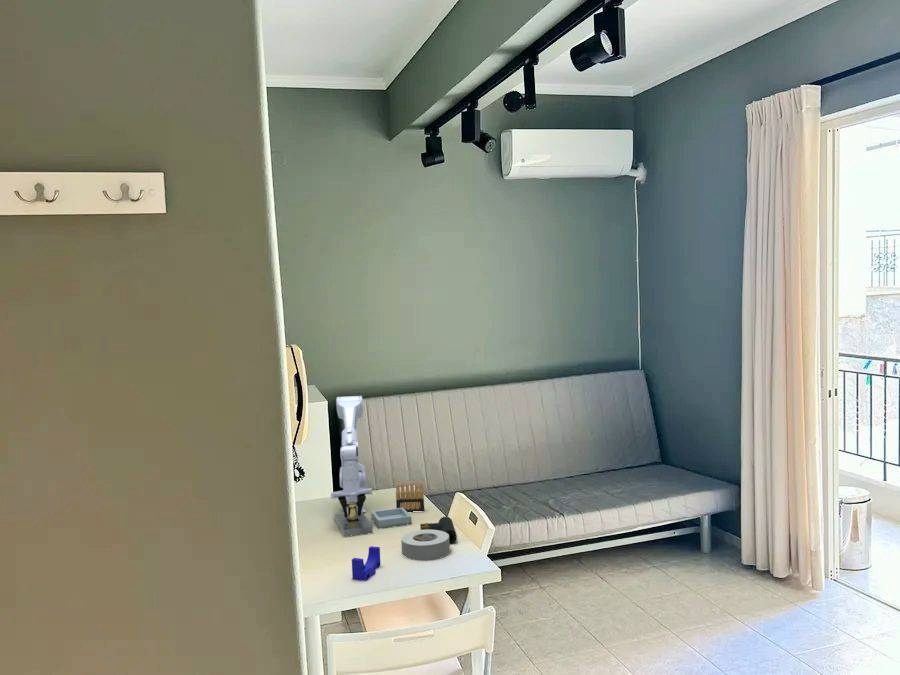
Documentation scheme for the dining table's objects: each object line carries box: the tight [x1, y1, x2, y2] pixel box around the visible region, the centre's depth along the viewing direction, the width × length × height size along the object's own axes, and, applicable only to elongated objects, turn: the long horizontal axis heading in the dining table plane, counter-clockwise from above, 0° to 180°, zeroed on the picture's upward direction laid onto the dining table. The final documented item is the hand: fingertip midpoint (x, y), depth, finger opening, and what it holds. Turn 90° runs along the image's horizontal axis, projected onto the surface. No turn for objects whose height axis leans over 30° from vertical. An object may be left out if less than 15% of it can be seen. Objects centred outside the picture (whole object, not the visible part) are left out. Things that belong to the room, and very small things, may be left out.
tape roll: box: [400, 529, 451, 561], centre depth 243 cm, size 15×15×5 cm
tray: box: [370, 508, 412, 529], centre depth 276 cm, size 12×12×3 cm
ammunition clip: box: [395, 480, 426, 513], centre depth 287 cm, size 11×2×12 cm, turn 92°
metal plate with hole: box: [333, 511, 374, 537], centre depth 271 cm, size 20×10×2 cm, turn 18°
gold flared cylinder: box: [347, 501, 358, 522], centre depth 271 cm, size 4×4×9 cm
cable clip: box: [351, 545, 381, 582], centre depth 227 cm, size 12×4×6 cm, turn 158°
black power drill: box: [419, 516, 458, 545], centre depth 257 cm, size 12×5×15 cm
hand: (352, 516), depth 271 cm, fingers closed on gold flared cylinder, 4 cm apart
